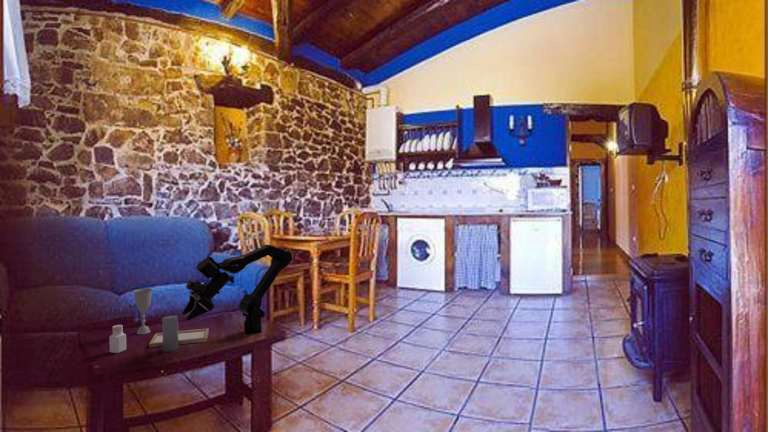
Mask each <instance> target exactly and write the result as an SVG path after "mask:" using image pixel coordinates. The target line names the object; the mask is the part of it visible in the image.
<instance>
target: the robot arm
mask: <svg viewBox="0 0 768 432" xmlns="http://www.w3.org/2000/svg"><path fill="white" fill-rule="evenodd" d="M267 256H269V257H270V258H271V261H270V265H269V267H268V269H267V270H266V271H265V273H264V275H263V276H262V278H261V279H260V280H259V282H258V283H257V285H256V286H255V288H254V290H253V291H252V292H251V293H245V294H244V296H243V297H242V299H241V300H239V302H240V303H239V305H238V308H239V312H240V313H242V316H243V317H245V320H243V327H244V329H243V330H244V332H245V334H246V335H247V334H256V333H257V334H258V333H262V331H263V330H262V319H263V318H264V317H265V313H266V312H265V311H263V310H262V309H261V307H262V302H263V298H264V296H265V295H266V293H267V292H268V290H269V289H270V287H271V286H272V284H273V283H274V281H275V279H276V278H277V277H278V275H279V273H280V272H281V271H282V270H284V269H285V268H286V267H287V266H289V264H290V263H291V262H292V261H293V255H292V252H291V251H288V250H284V249H281V248H278V247H276V246H274V245H273V244H264V245H263V246H261V247H258V248H256V249H254V250H251V251H250V252H247V253H245V254H242V255H238V256H232V257H227V258H225V259H223V261H221V262H217V261H215V259H214V258H213V257H212V256H207V257H206V258H204V259H202V260H201V261H199V262H198V263H197V265H196V268H195V269H196V270H197V271H198V272H199V273H200V274H201V275H203V277H205V278H206V279H209V281H204V283H202V282H201V281H199V280H193V279H188V281H187V283H186V285H185V288H186V289H187V290H188V291H189V294H188V297H189V299H188V302H187V304H186V305H185V306H184V309H183V310H182V313H181V314H182V315H183V316H185V315H186V314H188V313H189V314H188V315H187V316H186V317H185V318H186V321H188V322H189V321H190V320H192V319H195V318H197V317H199V316H201V315H204V314H206V313H209V312H211V311H212V310H213V309H214V308H215V303H213V298H215V297H216V296H217V295H219V294H220V293H221V290H222V289H223V288H224V287H225V286H226V285H227V284H228V282H229V283H231V284H234V283H235V276H233V275H229V273H230V274H238V273H239V272H241V271H243V270H244V269H245V268H246V267H247V266H248V265H250V264H252V263H254V262H256V261H259V260H261V259H262V258H265V257H267ZM221 270H222V271H221Z"/></svg>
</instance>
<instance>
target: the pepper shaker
mask: <svg viewBox="0 0 768 432" xmlns="http://www.w3.org/2000/svg"><path fill="white" fill-rule="evenodd" d="M123 326H124V325H122V324H116V325H113V326H112V334H110V336H109V339H108V340H109V352H110V353H113V354H119V353H121V352H124V351H126V350H127V334H126V333H124V331H123V330H124V328H123Z"/></svg>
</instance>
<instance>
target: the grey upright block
mask: <svg viewBox="0 0 768 432" xmlns="http://www.w3.org/2000/svg"><path fill="white" fill-rule="evenodd" d="M161 319H162V320H161V321H162V323H161V326H162V327H161V328H162V333H163V346H162V352H165V353H169V352H174V351H177V350H179V345H178V331H179V316H178V315H167V316H164V317H162V318H161Z"/></svg>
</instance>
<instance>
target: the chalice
mask: <svg viewBox="0 0 768 432" xmlns="http://www.w3.org/2000/svg"><path fill="white" fill-rule="evenodd" d="M152 291H153V288H149V287H148V288H146V287H145V288H138V289H134V290H133V291H132V292H133V294H134V304H135V307H136V310H138V311H139V312H140V313H141V317H140V318H141V321H140V322H141V326H139V328H138V330H137V332H136V334H137V335H146V334H149V333H151V330H150V327H149V326H148V325H145V324H146V322H147V320H146V314H145V312H147V311H148V309H149V307H150V306H151V303H152Z"/></svg>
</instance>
